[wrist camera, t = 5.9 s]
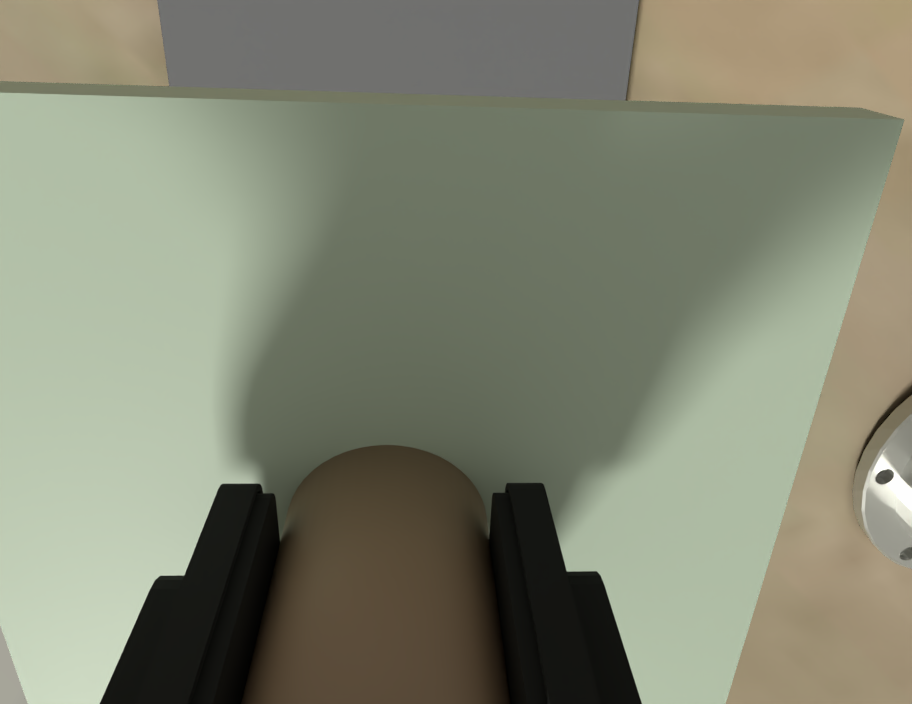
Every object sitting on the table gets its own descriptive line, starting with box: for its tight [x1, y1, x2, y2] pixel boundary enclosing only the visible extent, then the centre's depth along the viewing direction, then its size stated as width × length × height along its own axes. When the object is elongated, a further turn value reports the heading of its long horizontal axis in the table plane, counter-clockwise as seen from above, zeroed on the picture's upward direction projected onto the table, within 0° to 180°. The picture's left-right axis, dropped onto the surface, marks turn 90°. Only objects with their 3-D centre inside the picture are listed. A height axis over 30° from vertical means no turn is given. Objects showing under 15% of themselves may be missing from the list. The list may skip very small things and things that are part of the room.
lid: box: [0, 81, 904, 704], centre depth 10 cm, size 13×13×6 cm
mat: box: [157, 0, 639, 101], centre depth 27 cm, size 16×16×1 cm
